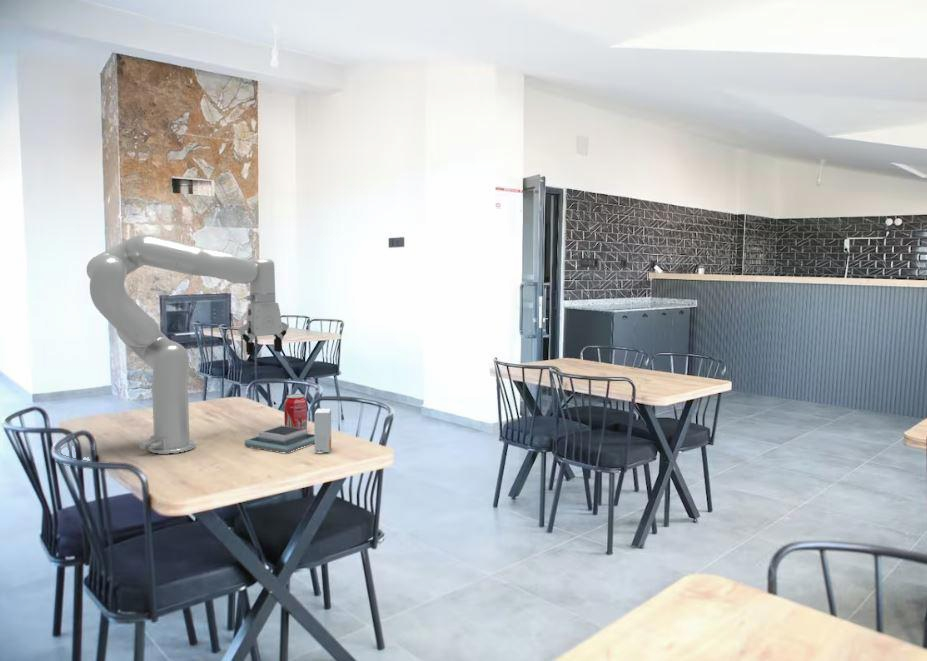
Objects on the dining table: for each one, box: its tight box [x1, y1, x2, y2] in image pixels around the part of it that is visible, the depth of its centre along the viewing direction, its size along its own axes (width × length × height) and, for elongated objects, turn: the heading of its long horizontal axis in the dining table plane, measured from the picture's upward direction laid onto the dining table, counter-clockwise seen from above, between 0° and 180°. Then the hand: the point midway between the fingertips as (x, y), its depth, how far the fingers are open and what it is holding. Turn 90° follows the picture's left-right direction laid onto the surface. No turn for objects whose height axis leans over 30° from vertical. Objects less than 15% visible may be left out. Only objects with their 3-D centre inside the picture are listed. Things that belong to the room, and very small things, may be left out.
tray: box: [244, 424, 315, 454], centre depth 202 cm, size 15×16×4 cm
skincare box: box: [313, 408, 332, 453], centre depth 196 cm, size 6×4×12 cm
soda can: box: [283, 393, 308, 430], centre depth 216 cm, size 7×7×12 cm
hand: (264, 353), depth 211 cm, fingers open, 9 cm apart
